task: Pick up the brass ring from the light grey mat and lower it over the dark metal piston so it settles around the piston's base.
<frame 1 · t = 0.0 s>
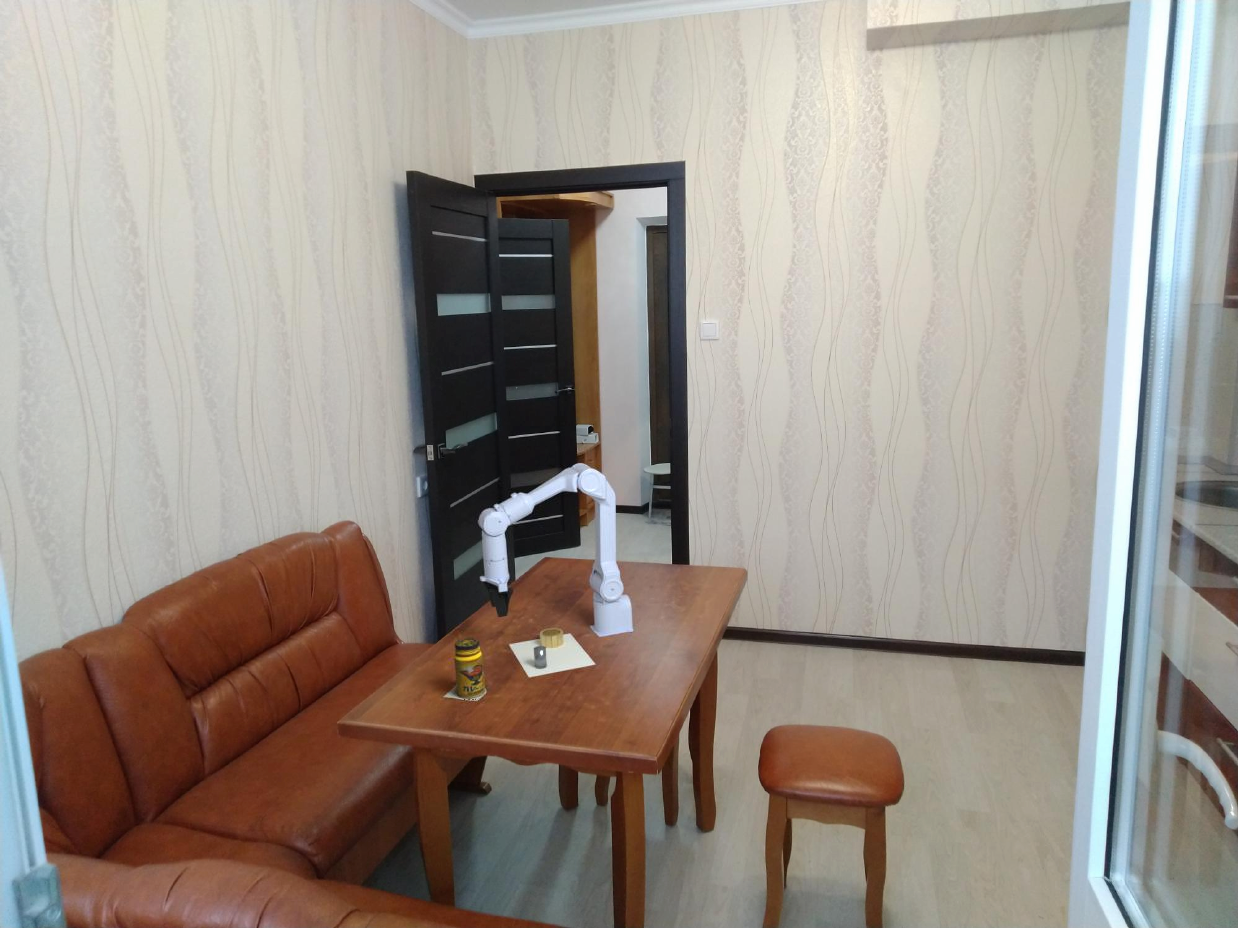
hand: (499, 611, 209), 10 cm above the table, tool pointing down, fingers open, 7 cm apart
ring: (552, 643, 212), resting on mat
mat: (550, 655, 206), on the table
condiment: (468, 693, 188), on the table
piston: (541, 668, 199), resting on mat
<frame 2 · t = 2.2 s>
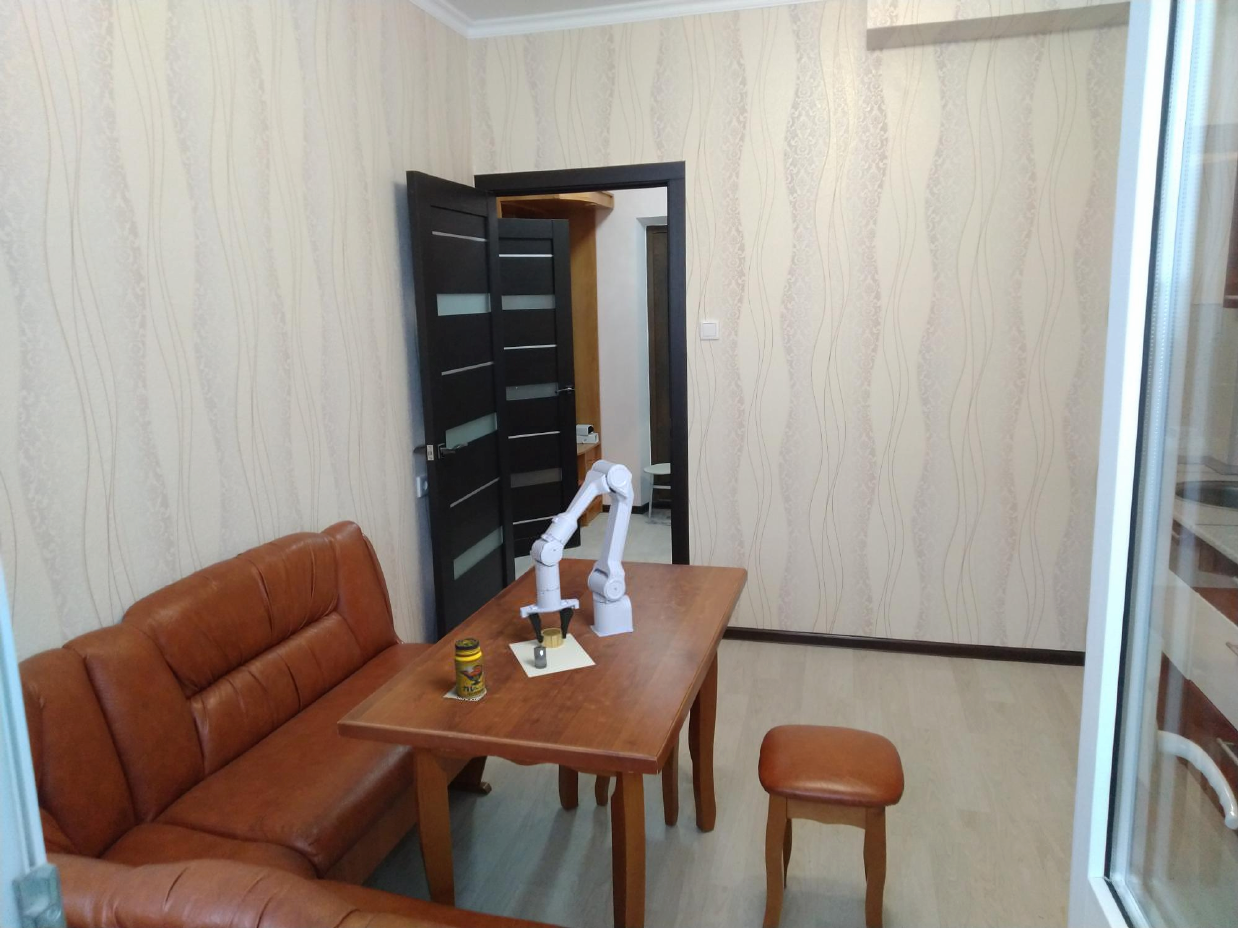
hand: (551, 639, 212), 2 cm above the table, tool pointing down, fingers closed on ring, 6 cm apart
ring: (552, 643, 212), resting on mat, touching gripper
everything else where it was.
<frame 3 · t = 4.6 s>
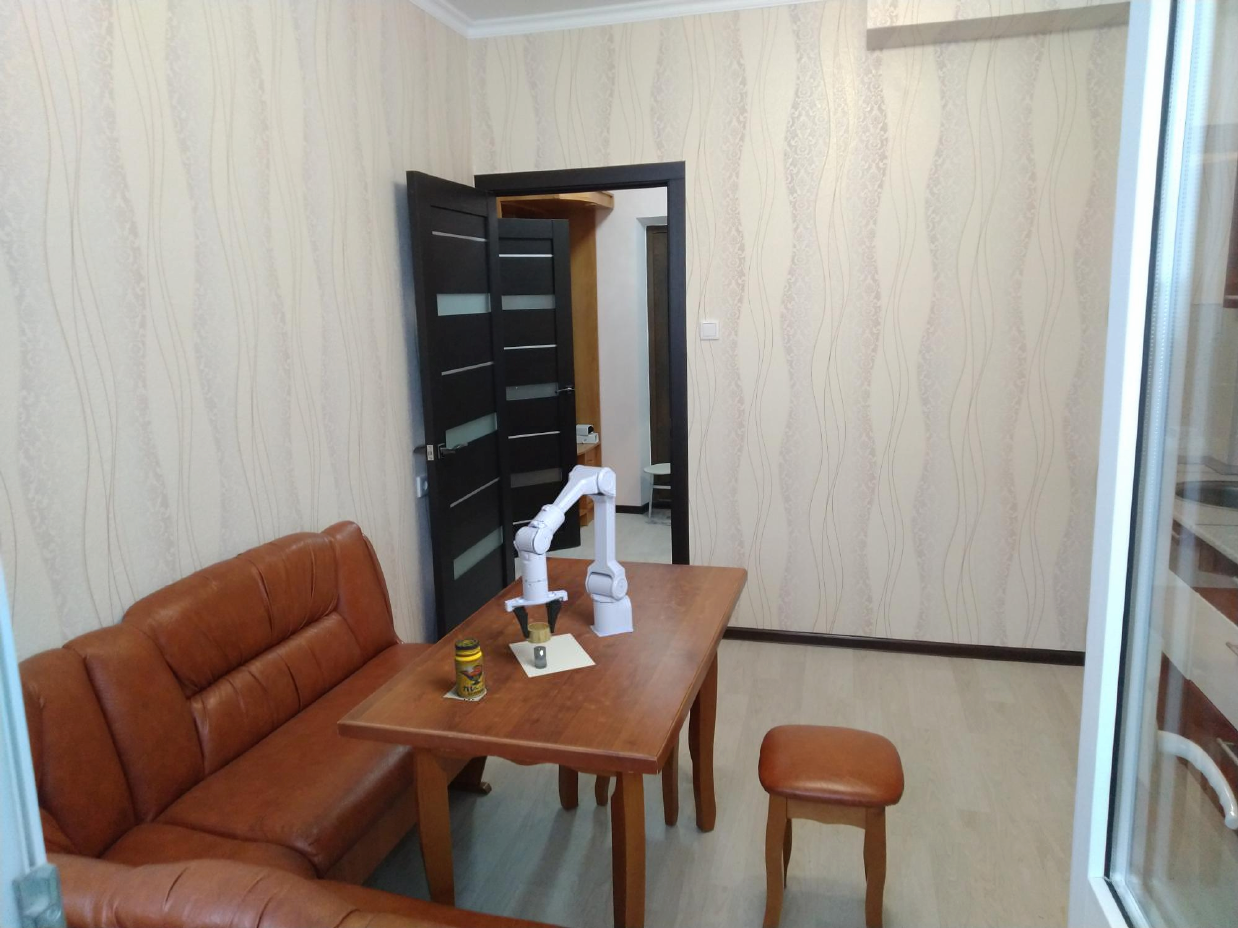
hand: (538, 634, 197), 8 cm above the table, tool pointing down, fingers closed on ring, 6 cm apart
ring: (538, 638, 198), point 7 cm above the table, touching gripper
everything else where it was.
when the fingers open (4 cm above the table, at t = 7.0 s): ring drops 2 cm, resting on mat.
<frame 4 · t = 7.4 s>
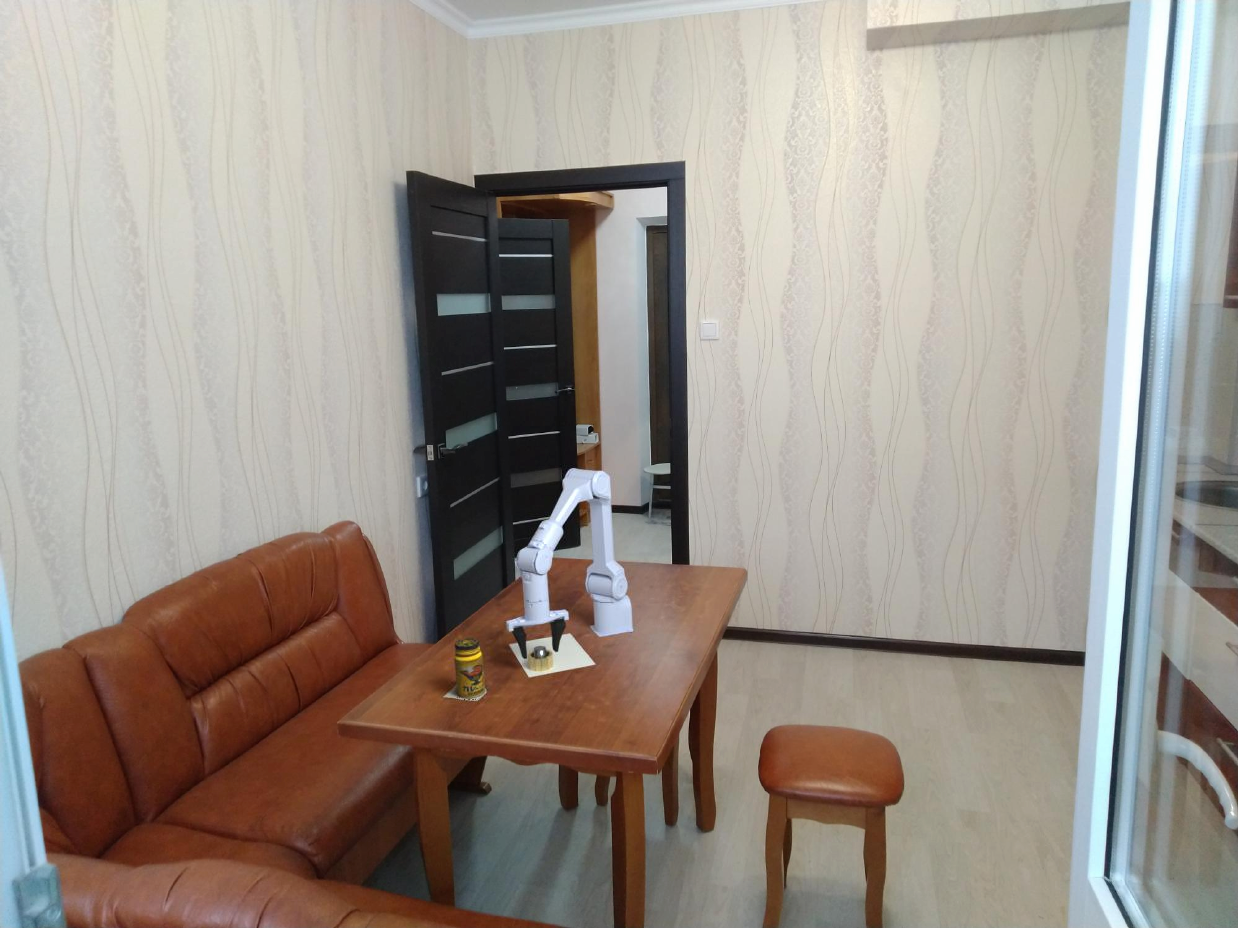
hand: (540, 653, 198), 4 cm above the table, tool pointing down, fingers open, 7 cm apart
ring: (541, 666, 199), resting on mat
everything else where it was.
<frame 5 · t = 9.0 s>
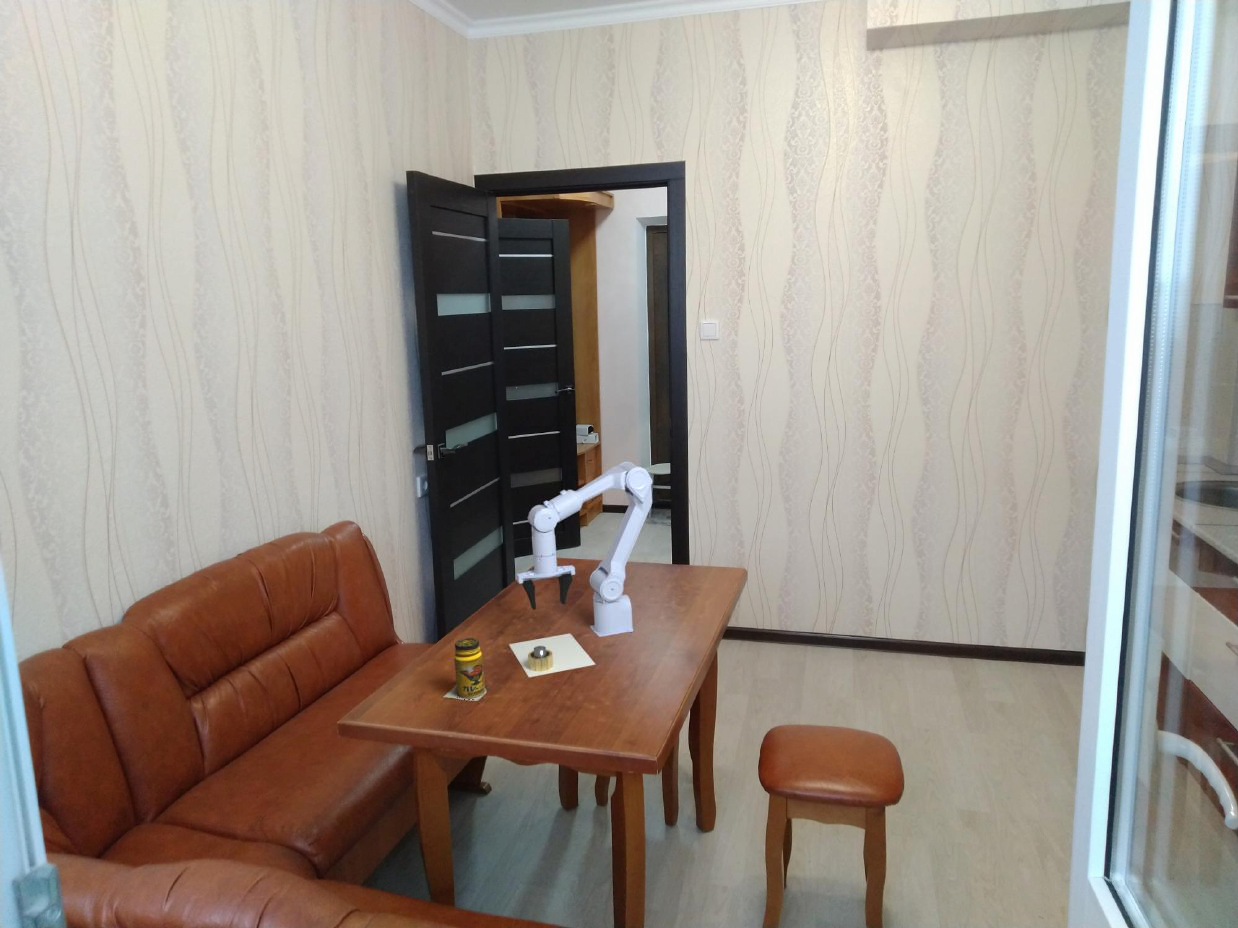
hand: (548, 605, 213), 9 cm above the table, tool pointing down, fingers open, 7 cm apart
nothing on the table moved.
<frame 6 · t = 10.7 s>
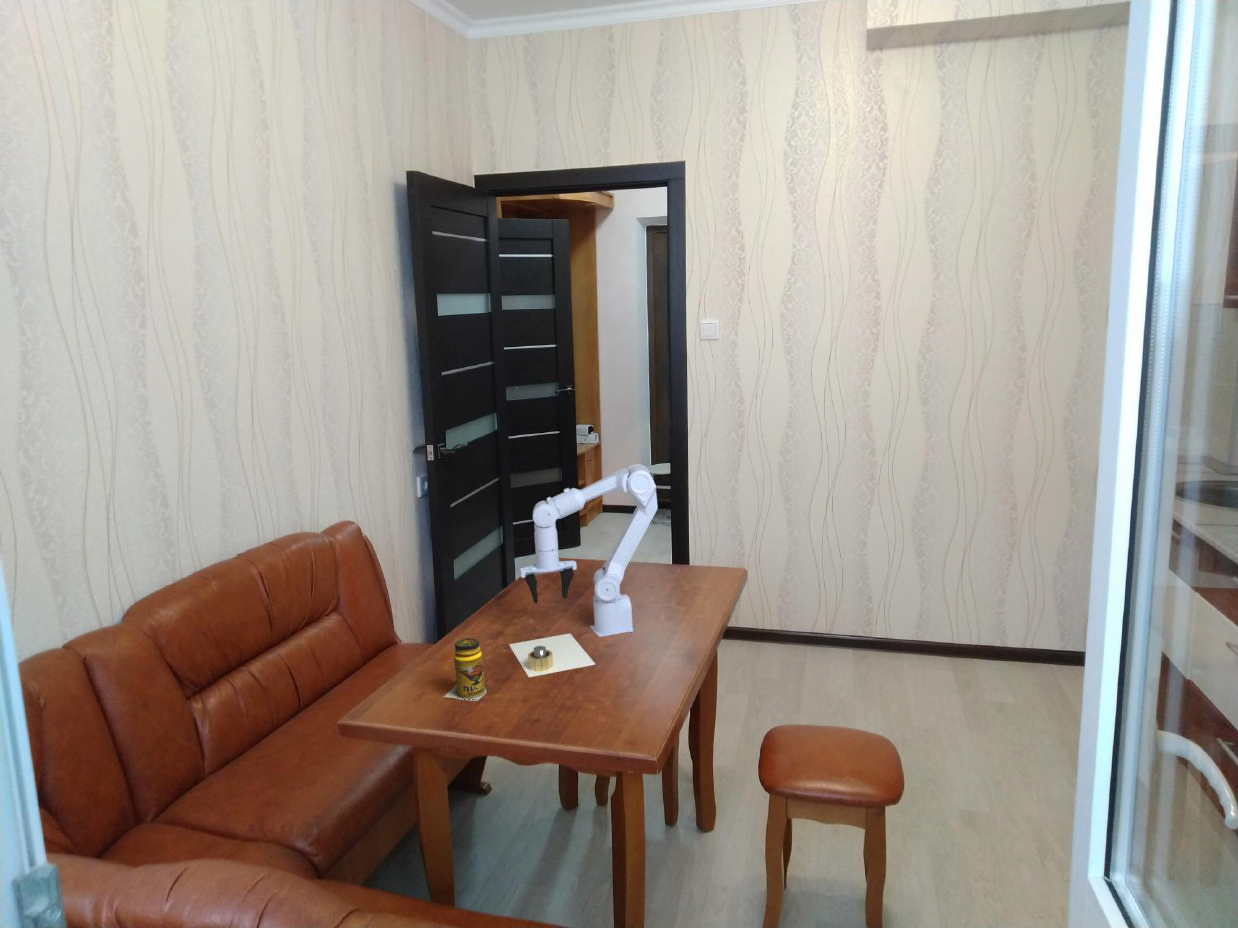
hand: (550, 599, 217), 9 cm above the table, tool pointing down, fingers open, 7 cm apart
nothing on the table moved.
at the end: ring 0.1 cm from the piston (horizontally); ring point 0.5 cm above the table; the gripper is holding nothing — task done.
